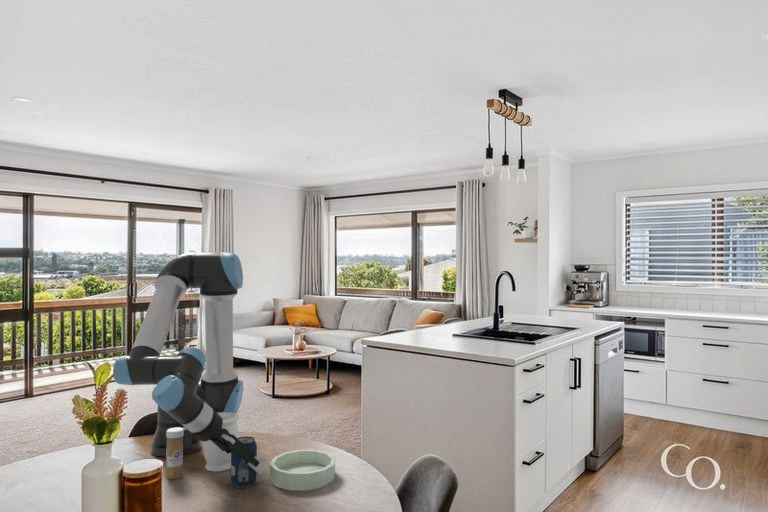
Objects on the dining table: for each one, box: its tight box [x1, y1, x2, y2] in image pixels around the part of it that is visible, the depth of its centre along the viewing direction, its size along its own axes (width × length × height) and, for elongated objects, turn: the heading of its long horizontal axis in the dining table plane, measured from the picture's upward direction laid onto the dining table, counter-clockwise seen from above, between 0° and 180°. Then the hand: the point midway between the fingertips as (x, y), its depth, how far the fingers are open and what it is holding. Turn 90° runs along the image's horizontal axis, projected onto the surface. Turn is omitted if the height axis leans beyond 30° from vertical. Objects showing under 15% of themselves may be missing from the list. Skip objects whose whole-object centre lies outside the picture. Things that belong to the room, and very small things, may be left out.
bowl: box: [269, 449, 336, 492], centre depth 149 cm, size 18×18×4 cm
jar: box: [201, 412, 239, 473], centre depth 156 cm, size 11×10×15 cm
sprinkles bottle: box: [165, 427, 184, 480], centre depth 148 cm, size 5×5×14 cm
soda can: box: [230, 436, 258, 488], centre depth 144 cm, size 7×7×12 cm
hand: (254, 466), depth 147 cm, fingers closed on soda can, 7 cm apart
